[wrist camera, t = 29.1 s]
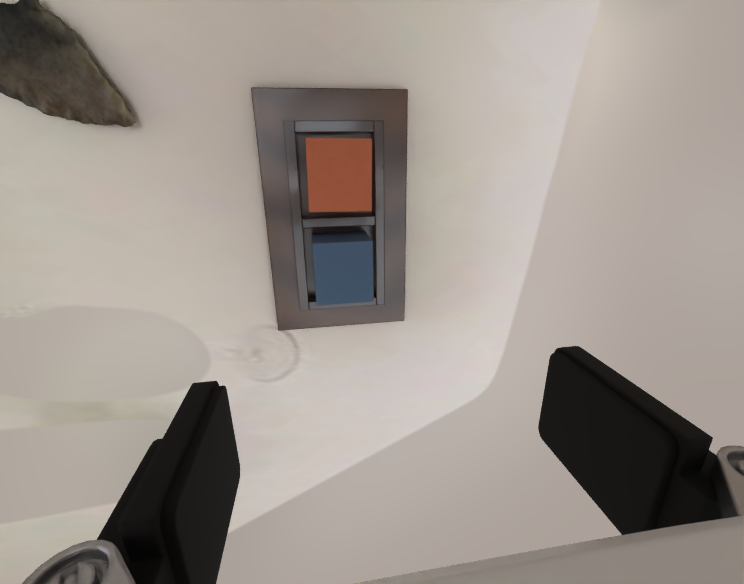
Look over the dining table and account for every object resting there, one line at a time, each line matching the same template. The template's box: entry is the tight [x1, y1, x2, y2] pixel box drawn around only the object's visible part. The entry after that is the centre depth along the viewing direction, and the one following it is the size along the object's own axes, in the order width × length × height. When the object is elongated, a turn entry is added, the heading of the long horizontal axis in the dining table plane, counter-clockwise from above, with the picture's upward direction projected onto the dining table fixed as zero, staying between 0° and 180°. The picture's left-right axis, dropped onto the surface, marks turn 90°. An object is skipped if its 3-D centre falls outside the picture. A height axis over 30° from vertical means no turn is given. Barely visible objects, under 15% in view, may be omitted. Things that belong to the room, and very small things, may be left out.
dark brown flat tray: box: [251, 87, 408, 330], centre depth 31 cm, size 20×12×2 cm, turn 2°
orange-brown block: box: [305, 138, 372, 212], centre depth 28 cm, size 5×5×4 cm
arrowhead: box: [0, 0, 136, 127], centre depth 25 cm, size 7×10×1 cm
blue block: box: [312, 231, 374, 306], centre depth 31 cm, size 5×5×4 cm
